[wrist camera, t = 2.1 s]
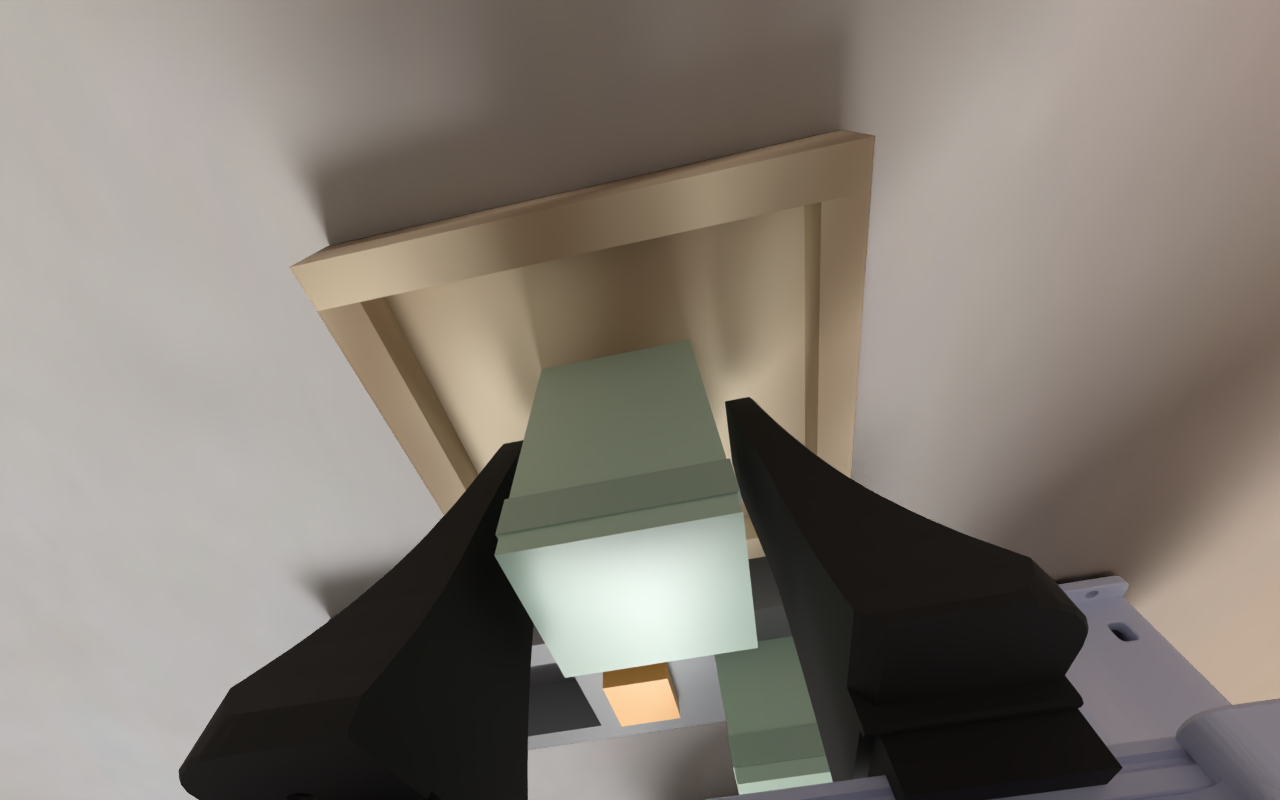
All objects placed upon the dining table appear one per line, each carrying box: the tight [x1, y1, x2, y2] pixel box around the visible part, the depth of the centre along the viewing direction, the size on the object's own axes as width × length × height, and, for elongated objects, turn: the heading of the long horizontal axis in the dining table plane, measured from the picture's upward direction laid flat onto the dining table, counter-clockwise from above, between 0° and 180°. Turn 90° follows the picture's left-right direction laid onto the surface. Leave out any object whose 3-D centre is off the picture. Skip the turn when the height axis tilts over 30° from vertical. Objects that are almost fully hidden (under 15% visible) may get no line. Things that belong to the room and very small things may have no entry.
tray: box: [290, 130, 875, 559], centre depth 13 cm, size 12×12×2 cm
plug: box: [494, 340, 758, 678], centre depth 11 cm, size 4×4×6 cm
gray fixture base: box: [328, 556, 833, 795], centre depth 18 cm, size 20×8×6 cm, turn 101°
